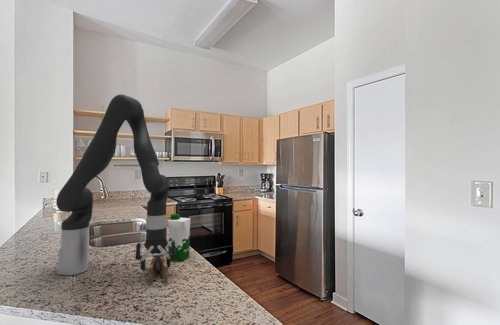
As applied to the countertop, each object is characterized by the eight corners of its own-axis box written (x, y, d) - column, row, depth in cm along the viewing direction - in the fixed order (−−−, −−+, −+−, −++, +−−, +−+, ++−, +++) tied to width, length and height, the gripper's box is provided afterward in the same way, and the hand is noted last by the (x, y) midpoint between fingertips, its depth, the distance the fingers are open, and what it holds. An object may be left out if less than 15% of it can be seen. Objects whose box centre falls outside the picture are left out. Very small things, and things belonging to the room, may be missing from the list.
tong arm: (153, 268, 104) (154, 254, 105) (160, 267, 106) (161, 253, 106) (159, 284, 90) (160, 267, 91) (167, 282, 92) (167, 266, 92)
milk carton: (174, 254, 123) (175, 212, 123) (192, 256, 121) (192, 213, 121) (164, 261, 114) (165, 215, 115) (183, 262, 112) (184, 216, 113)
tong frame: (153, 265, 108) (154, 249, 109) (163, 265, 109) (164, 248, 109) (146, 286, 89) (146, 266, 89) (158, 285, 90) (159, 265, 90)
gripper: (134, 229, 93) (133, 274, 93) (175, 227, 97) (174, 271, 96) (138, 225, 100) (137, 267, 100) (176, 223, 104) (175, 264, 103)
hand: (155, 269), depth 98 cm, fingers open, 8 cm apart
